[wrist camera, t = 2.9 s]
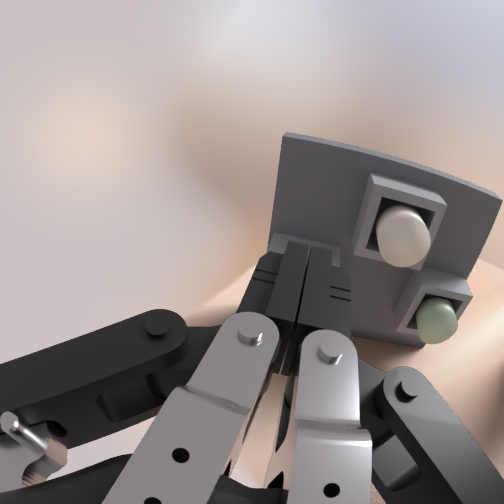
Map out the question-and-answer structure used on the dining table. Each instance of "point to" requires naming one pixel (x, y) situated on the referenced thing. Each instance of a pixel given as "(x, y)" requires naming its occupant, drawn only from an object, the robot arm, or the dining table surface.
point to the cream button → (402, 235)
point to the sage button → (435, 320)
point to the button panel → (364, 233)
